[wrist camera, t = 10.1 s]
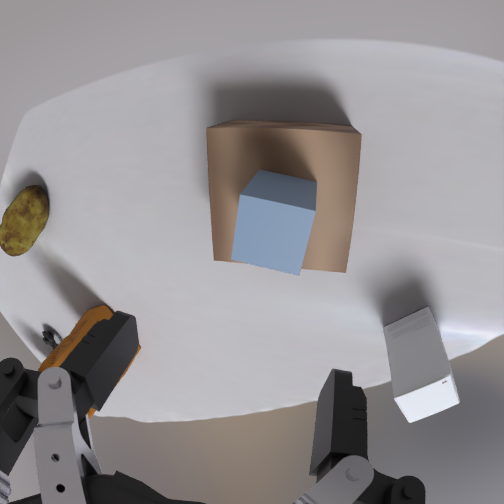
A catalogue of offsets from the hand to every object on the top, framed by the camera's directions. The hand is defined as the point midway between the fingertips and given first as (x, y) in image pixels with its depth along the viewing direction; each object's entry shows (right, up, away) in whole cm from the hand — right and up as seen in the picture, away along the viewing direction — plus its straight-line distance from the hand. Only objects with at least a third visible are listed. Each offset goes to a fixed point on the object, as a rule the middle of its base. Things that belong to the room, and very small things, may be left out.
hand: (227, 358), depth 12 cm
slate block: (+4, +8, +16) cm, 18 cm away
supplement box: (+24, -7, +29) cm, 38 cm away
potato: (-35, +11, +33) cm, 49 cm away
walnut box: (+5, +12, +23) cm, 26 cm away
